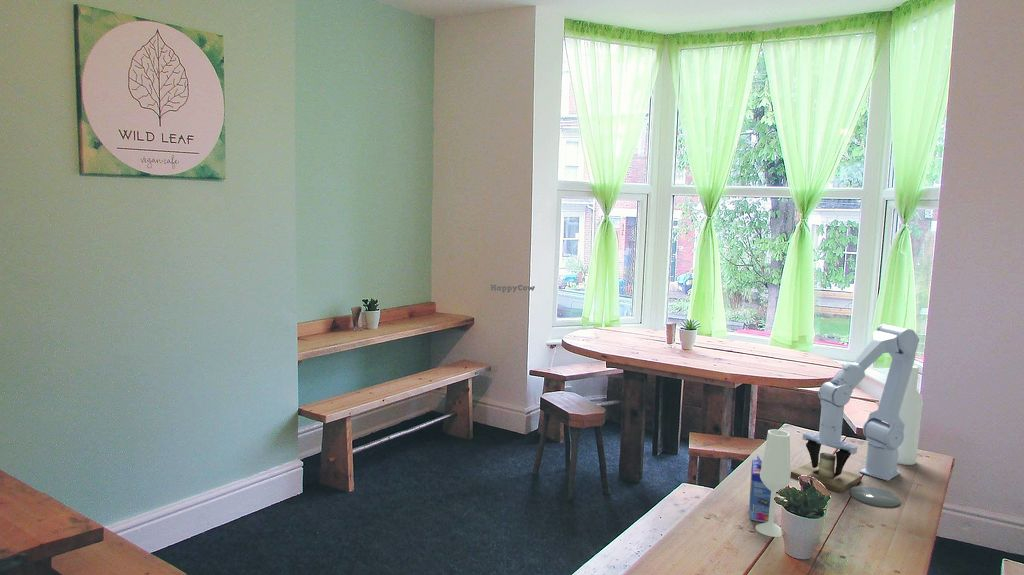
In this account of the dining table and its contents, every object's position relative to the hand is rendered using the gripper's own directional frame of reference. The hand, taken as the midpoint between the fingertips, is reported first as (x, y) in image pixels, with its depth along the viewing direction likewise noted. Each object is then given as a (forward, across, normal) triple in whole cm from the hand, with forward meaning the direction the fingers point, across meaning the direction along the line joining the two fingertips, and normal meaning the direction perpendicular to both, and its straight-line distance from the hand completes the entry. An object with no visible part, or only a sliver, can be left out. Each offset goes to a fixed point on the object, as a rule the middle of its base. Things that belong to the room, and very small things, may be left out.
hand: (826, 470), depth 194 cm
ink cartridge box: (+3, 0, -37) cm, 37 cm away
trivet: (+2, +14, -2) cm, 14 cm away
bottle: (+3, +8, +35) cm, 36 cm away
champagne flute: (+3, +6, -43) cm, 44 cm away
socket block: (+2, 0, 0) cm, 2 cm away
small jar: (+2, 0, 0) cm, 2 cm away
